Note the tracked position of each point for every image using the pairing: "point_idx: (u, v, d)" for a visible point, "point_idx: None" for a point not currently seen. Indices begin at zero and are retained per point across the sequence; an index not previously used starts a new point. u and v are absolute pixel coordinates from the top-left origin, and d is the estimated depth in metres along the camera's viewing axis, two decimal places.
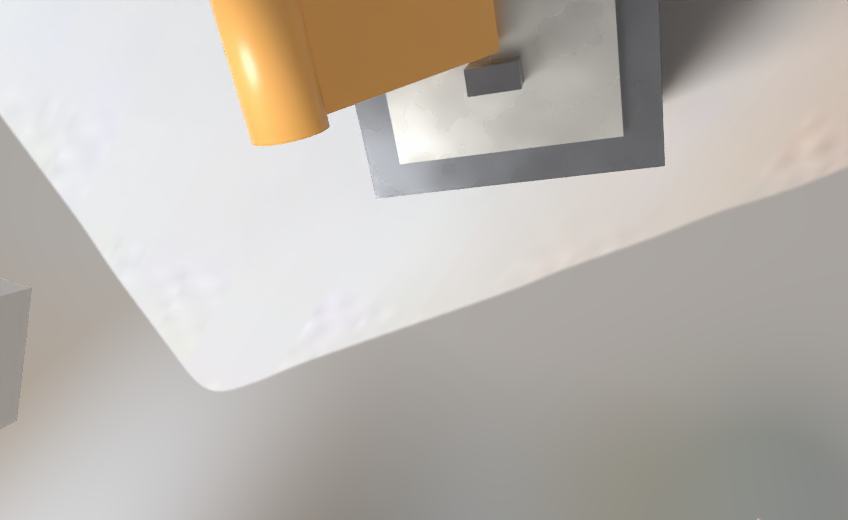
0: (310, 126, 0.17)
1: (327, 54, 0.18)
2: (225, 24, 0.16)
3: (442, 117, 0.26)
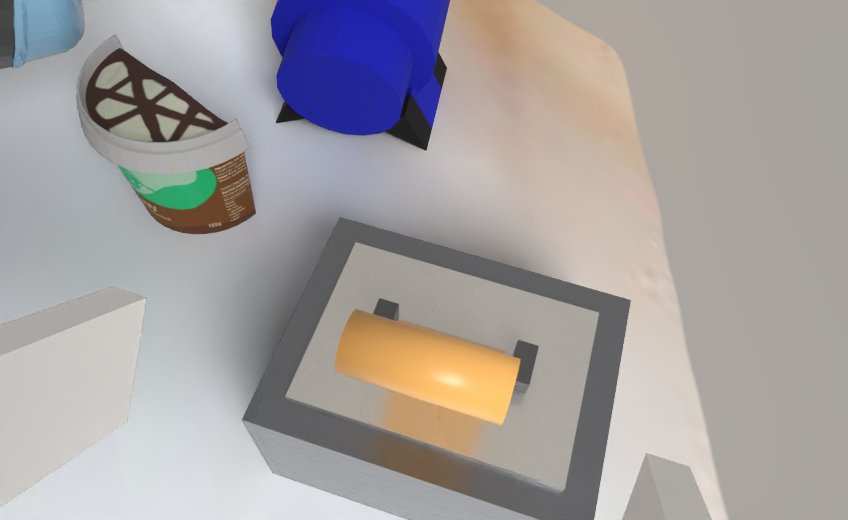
0: (513, 357, 0.21)
1: None
2: (414, 363, 0.20)
3: (537, 429, 0.30)
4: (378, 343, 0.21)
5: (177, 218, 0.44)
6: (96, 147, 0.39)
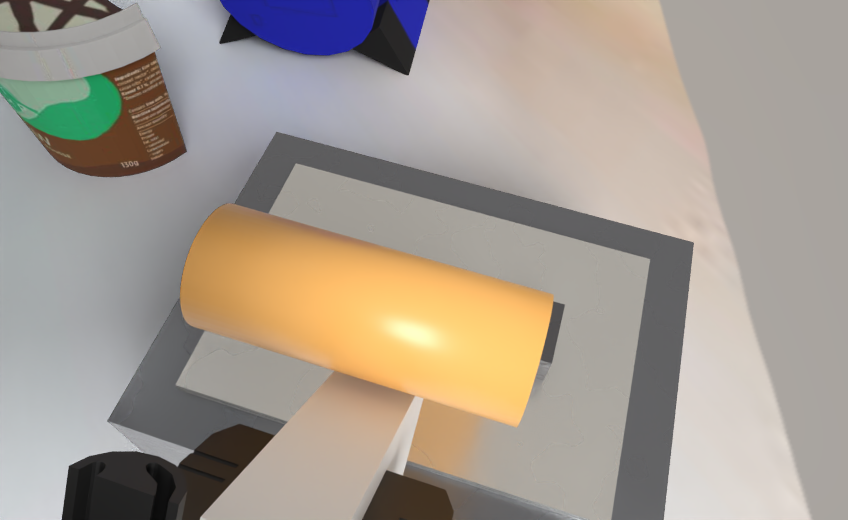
0: (539, 290, 0.11)
1: None
2: (337, 299, 0.10)
3: (563, 432, 0.19)
4: (264, 261, 0.10)
5: (78, 154, 0.34)
6: None
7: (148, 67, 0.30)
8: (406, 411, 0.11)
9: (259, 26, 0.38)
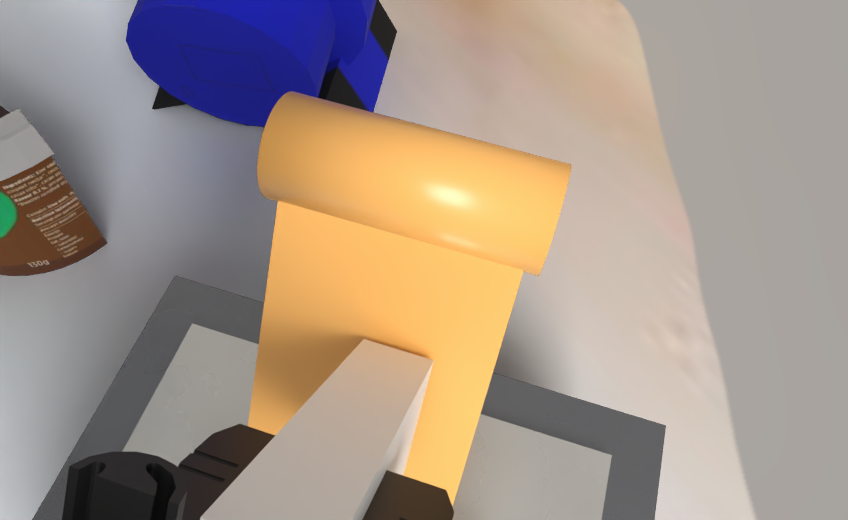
0: None
1: None
2: (411, 123, 0.13)
3: None
4: (352, 107, 0.13)
5: None
6: None
7: (44, 170, 0.26)
8: (406, 411, 0.11)
9: (191, 97, 0.34)
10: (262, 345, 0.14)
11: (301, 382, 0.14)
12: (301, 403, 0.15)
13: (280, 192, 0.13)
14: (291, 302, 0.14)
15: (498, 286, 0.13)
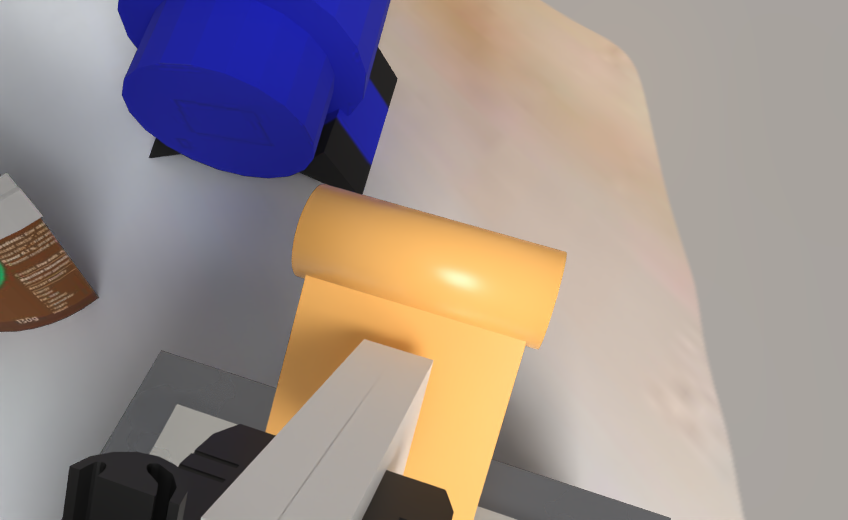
0: None
1: None
2: (428, 213, 0.15)
3: None
4: None
5: None
6: None
7: (33, 231, 0.26)
8: (406, 411, 0.11)
9: (188, 149, 0.33)
10: (272, 418, 0.15)
11: None
12: None
13: (311, 265, 0.14)
14: (308, 373, 0.15)
15: (503, 357, 0.14)
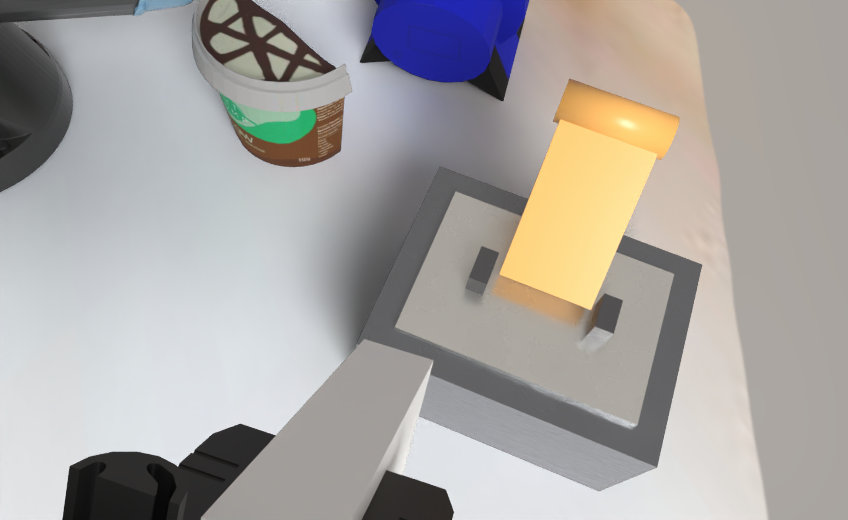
0: None
1: None
2: None
3: (615, 372, 0.34)
4: None
5: (271, 151, 0.47)
6: (210, 80, 0.41)
7: (338, 101, 0.43)
8: (406, 411, 0.11)
9: (398, 58, 0.51)
10: (536, 183, 0.33)
11: (550, 202, 0.33)
12: (548, 212, 0.33)
13: (565, 114, 0.32)
14: (555, 163, 0.33)
15: (646, 160, 0.32)
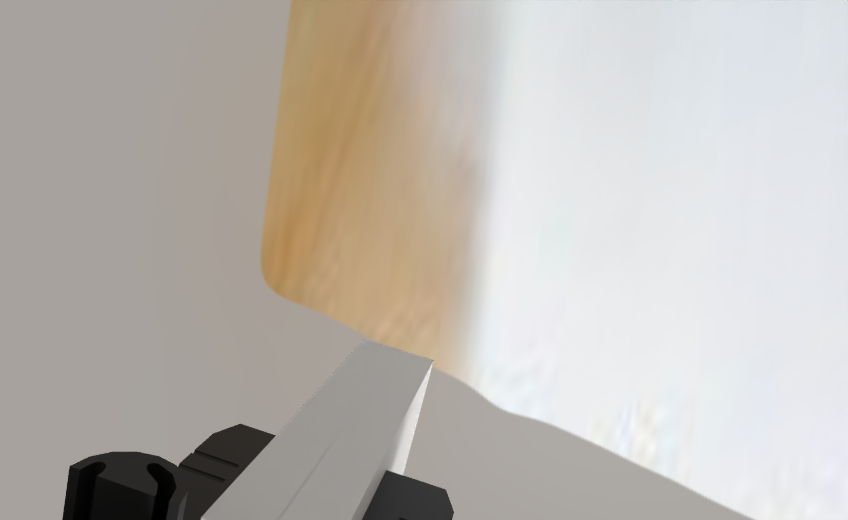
0: None
1: None
2: None
3: None
4: None
5: None
6: None
7: None
8: (406, 411, 0.11)
9: None
10: None
11: None
12: None
13: None
14: None
15: None
